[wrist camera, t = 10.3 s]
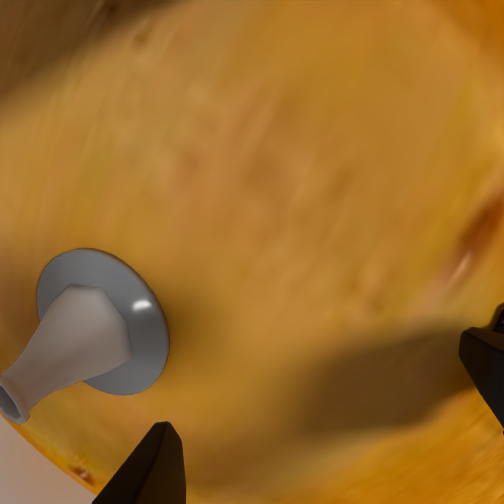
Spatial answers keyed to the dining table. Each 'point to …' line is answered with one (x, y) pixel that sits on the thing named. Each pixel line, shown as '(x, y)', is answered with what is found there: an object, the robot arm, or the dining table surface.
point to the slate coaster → (128, 305)
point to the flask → (65, 350)
